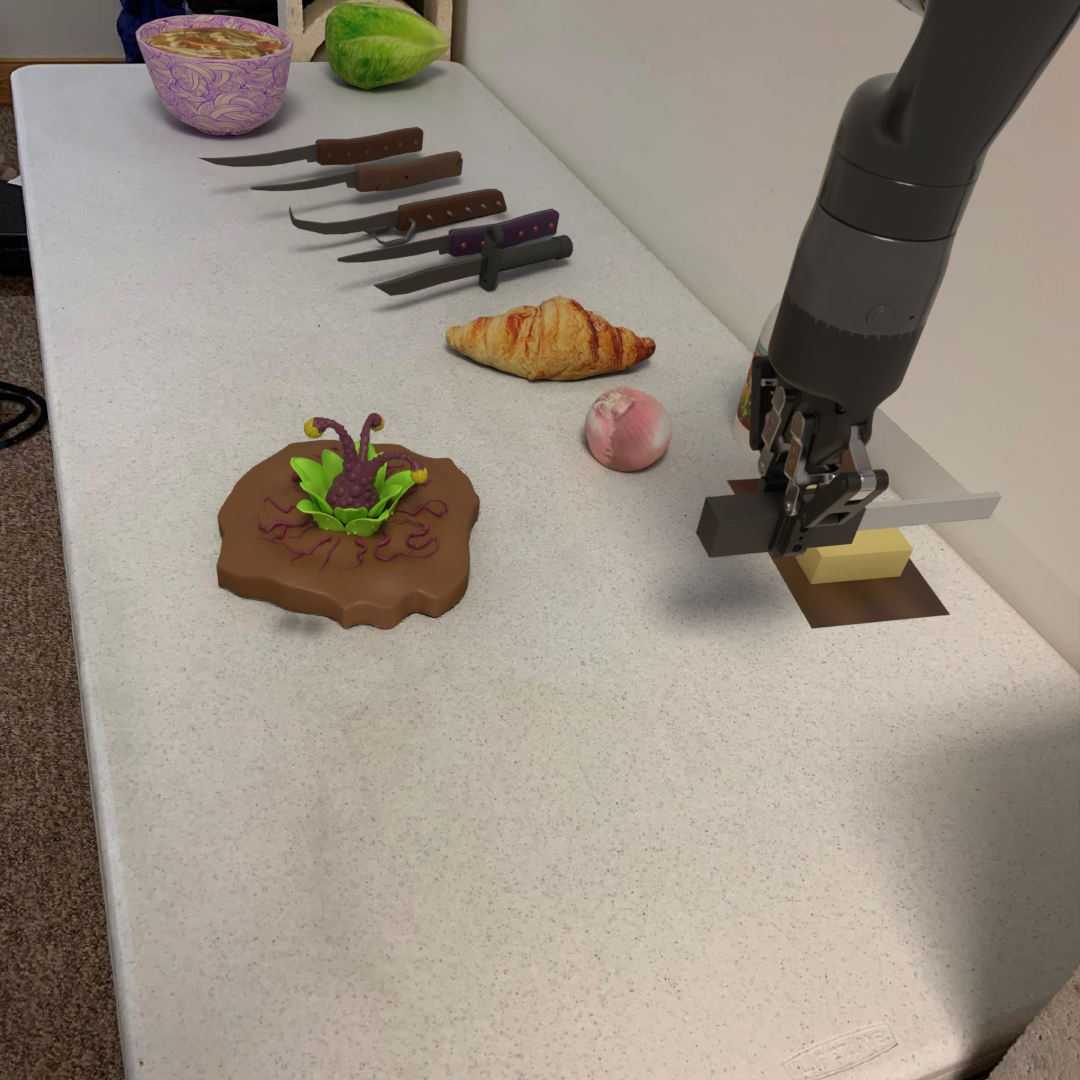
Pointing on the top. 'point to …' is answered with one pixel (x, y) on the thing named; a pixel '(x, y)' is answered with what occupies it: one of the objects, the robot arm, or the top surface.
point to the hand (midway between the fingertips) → (774, 536)
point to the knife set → (419, 210)
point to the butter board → (854, 591)
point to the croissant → (550, 342)
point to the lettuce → (380, 43)
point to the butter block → (858, 558)
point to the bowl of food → (217, 70)
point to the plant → (349, 529)
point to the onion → (627, 429)
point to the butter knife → (754, 517)
